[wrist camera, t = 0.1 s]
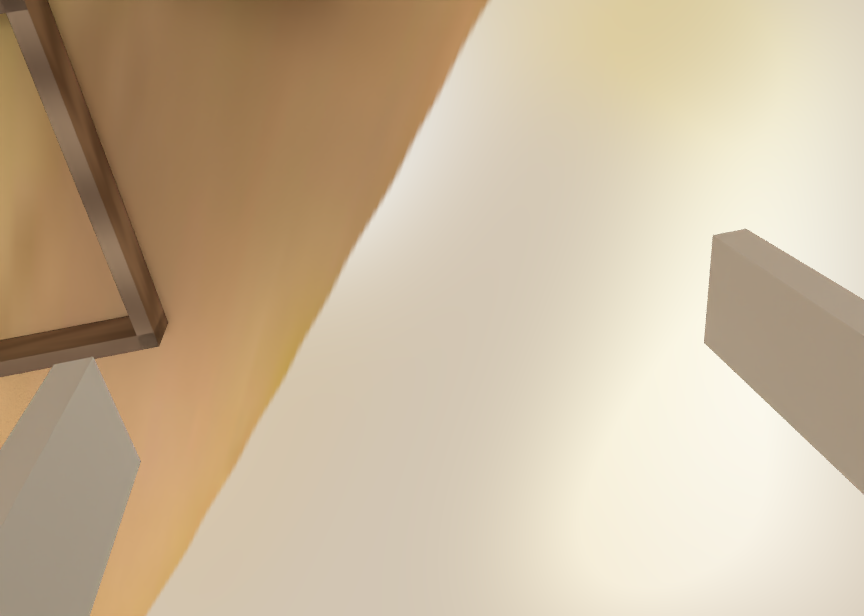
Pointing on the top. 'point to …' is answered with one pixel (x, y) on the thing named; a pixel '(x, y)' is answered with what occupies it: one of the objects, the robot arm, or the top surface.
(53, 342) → the brown flat u-shaped frame
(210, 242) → the top surface
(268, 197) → the top surface
